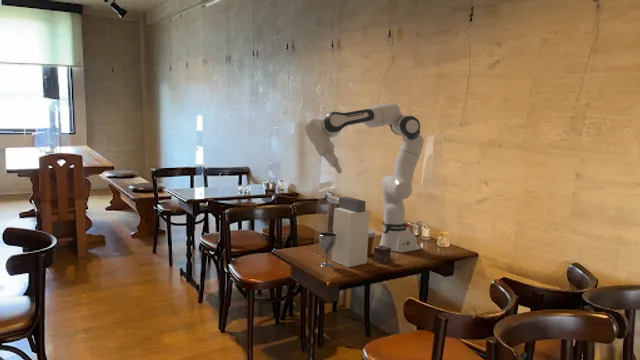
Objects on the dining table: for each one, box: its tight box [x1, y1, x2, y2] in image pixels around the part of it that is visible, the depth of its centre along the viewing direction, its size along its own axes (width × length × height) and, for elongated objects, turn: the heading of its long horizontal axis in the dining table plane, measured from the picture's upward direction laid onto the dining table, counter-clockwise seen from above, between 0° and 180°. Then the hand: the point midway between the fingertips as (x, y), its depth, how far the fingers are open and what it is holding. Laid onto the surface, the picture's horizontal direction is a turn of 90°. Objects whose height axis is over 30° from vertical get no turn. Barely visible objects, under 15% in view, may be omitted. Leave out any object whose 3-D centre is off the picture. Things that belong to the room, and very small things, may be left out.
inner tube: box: [324, 194, 340, 205], centre depth 244 cm, size 23×3×3 cm, turn 38°
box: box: [373, 244, 392, 265], centre depth 244 cm, size 6×6×7 cm
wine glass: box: [318, 231, 336, 268], centre depth 235 cm, size 8×8×15 cm
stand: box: [331, 196, 370, 268], centre depth 240 cm, size 14×12×31 cm
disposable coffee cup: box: [367, 229, 376, 256], centre depth 256 cm, size 10×10×12 cm
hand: (340, 172), depth 250 cm, fingers open, 8 cm apart
